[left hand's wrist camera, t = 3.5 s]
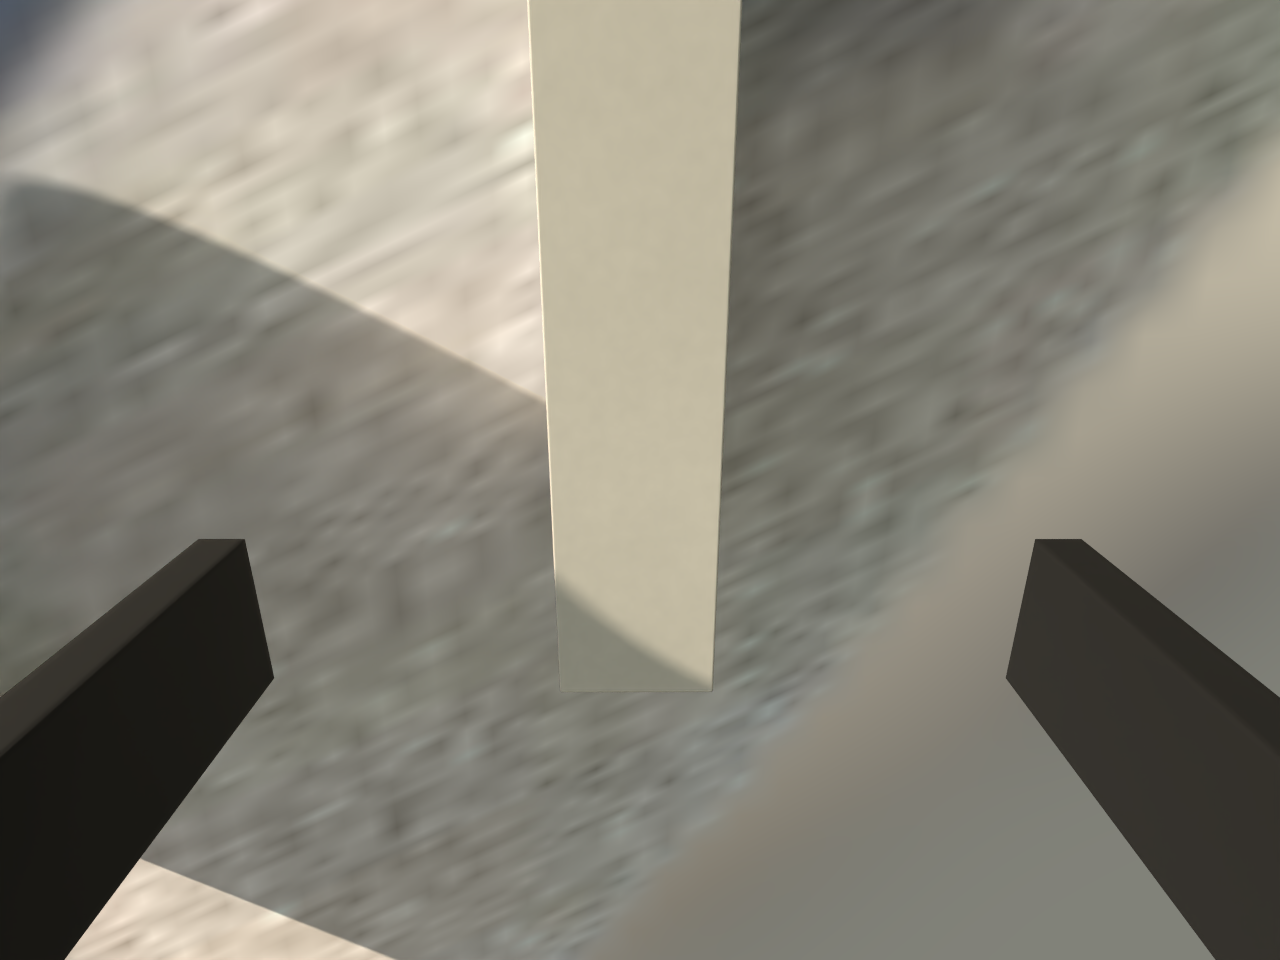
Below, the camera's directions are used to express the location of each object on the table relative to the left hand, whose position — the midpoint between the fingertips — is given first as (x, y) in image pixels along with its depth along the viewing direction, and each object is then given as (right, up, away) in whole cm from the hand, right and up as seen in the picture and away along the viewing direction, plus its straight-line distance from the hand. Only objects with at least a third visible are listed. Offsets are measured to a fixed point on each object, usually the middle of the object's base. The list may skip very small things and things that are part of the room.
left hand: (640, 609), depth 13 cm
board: (0, +27, +6) cm, 27 cm away
